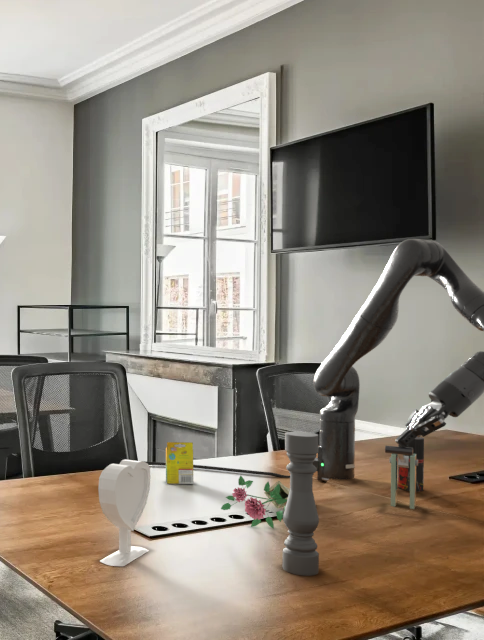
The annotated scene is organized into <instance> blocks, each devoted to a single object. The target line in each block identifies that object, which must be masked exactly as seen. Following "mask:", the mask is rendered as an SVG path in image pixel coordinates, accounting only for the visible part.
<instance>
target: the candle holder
mask: <svg viewBox="0 0 484 640" xmlns="http://www.w3.org/2000/svg"><path fill="white" fill-rule="evenodd" d="M318 447H319V434H318V433H314V432H308V431H286V432H285V433H284V451H286V456H287V457H288V460H289V463H288V464H287V465H286V466H285V468H286V471H288V473H289V476H290V478H289V488H290V491H289V495H288V499H287V503H286V507H285V511H284V510H283V517H282V520H283V523H284V526H285V527H286V528H287V529H288V530H287V533H288V534H289V535H288V536H287V537H286V538H285V540H284V542H283V543H284V546H285V547H283V549H282V569H283V571H285V572H287V573H290V574H293V575H298V576H309V577H310V576H315V575H319V569H320V568H319V566H320V564H319V563H320V556H319V555H320V553H319V552H318V551H317V549H318V543H317V542H316V541H315V539H314V537H313V536H314V535H315V533H314V532H315V531H316V530H317V528H318V526H319V523H320V518H319V512H318V509H317V505H316V504H317V503H316V500H315V496H314V492H313V491H314V490H313V487H314V485H313V483H314V482H313V481H314V480H313V479H314V478H313V477H314V474H315V473H316V472H317V468H316V467H315V466H314V465H313V462H314V459H315V458H317V457H318Z"/></svg>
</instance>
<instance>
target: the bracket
mask: <svg viewBox="0 0 484 640" xmlns="http://www.w3.org/2000/svg"><path fill="white" fill-rule="evenodd" d="M390 455H391V456H389V459H388V460H389V461H388V462H389V464H390V507H396V506H397V504H398V455H397V454H392V453H390ZM416 466H418V460H416V454H413V455H411V456H410V491H409V509H411V510H415V508H416V506H417V492H416Z"/></svg>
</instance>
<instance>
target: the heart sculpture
mask: <svg viewBox="0 0 484 640" xmlns="http://www.w3.org/2000/svg"><path fill="white" fill-rule="evenodd" d="M141 461H142V460H134V459H133V460H132V459H126V458H125V459H122V460H120V462H119V463H110V464H109V465H106V467H105V468H104V469H103V470H102V471H101V473H100V475H99V477H98V488H97V490H98V501H99V502H98V503H99V505H100V509H101V511H102V514H103V515H104V517H105V519H107V521H109V522H110V523H111V524H112V525H113V526H114V527H115V528H117V529H118V531H119V532H118V550H117V551H114V552H112V553H111V554H109V555H107V556H106V557H104V558H102V559H100V560H99V562H100V563H102V564H104V565H107V566H112V567H113V566H114V567H125V566H127V565H128V564H130V563H131V562H133V561H136V559H138V558H140V557H142V556H143V555H144V554H147V553H148V552H149V551H150V550H149V549H147V548H145V547H142V546H136V545H135V546H134V545H132V532H134V531H135V528H136V527H137V525H138V523H139V520H140V519H141V517H142V514H143V513H144V510H145V508H146V505H147V501H148V498H149V495H150V494H149V493H150V489H151V478H152V477H151V467H150V466H151V465H148V463H146V462H147V461H145V462H141Z"/></svg>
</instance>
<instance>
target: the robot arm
mask: <svg viewBox="0 0 484 640" xmlns="http://www.w3.org/2000/svg"><path fill="white" fill-rule="evenodd" d="M413 277H427V278H429V279H431V280H433V281H435V282H436V283H437V284H439V285H440V286H441V287H442V288H443V289H444V290H445V291H446V293H447V295H448V297H449V301H450V303H451V304H452V306H453V308H454V309H455V311H457V312H458V313H459V314H460V316H462V317H463V318H464V319H465V320H466V321H467V322H468V323H469V324H471V325H472V326H473V327H474V328H475V329H477V331H480V332H484V290H483V289H481V288H480V287H479V286H478V284H476V283H475V282H474V281H473V280H472V279H471V278H470V277H469V276H468V275H467V273H465V271H464V270H463V269H462V268H461V266H460V265H458V263H457V261H456V260H455V259H454V258H453V257H452V256H451V254H450V253H449V252H448V250H447V249H446V248H445V247H444V246H443V245H442V244H441V243H439V242H438V241H435V240H431V239H423V238H408V239H405V240H403V241H402V242H400V243H398V245H397V246H396V248H395V249H394V250H393V252H392V254H391V255H390V258H389V260H388V262H387V264H386V265H385V267H384V270H383V271H382V273H381V275H380V277H379V279H378V281H377V283H376V284H375V286H374V287H373V289H372V291H371V292H370V294H369V295H368V297H367V299H366V300H365V302H364V303H363V305H362V306H361V308H360V309H359V310H358V312H356V313H357V314H356V315H355V317H354V318H353V319H352V321H351V323H350V324H349V326H348V328H347V329H346V331H345V332H344V334H343V335H342V336H341V338H340V340H339V341H338V343H336V345H335V347H333V350H332V351H331V352H330V353H329V355H328V356H327V357H326V358H325V359H324V360H323V361H322V362H321V364H320V365H319V366H318V368H317V369H316V371H315V372H314V375H313V380H312V381H313V382H312V383H313V384H312V385H313V388H314V391H315V392H316V393H317V394H318V395H319V396H321V397H327V398H330V401H329V403H328V404H327V405H326V406H324V407H323V408H321V409H320V410H319V434H318V453H317V457H316V458H315V459H314V462H313V465H314V466H315V467H316V468H317V471H316V472H317V473H316V475H317V481H322V482H326V483H327V482H328V481H329V480H330V479H331V480H354V479H356V478H355V476H356V475H355V469H356V466H355V464H356V463H355V460H356V458H355V457H356V455H355V454H356V451H355V449H356V415H357V413H358V411H359V403H360V387H361V386H360V385H361V384H360V376H359V373H358V370H357V369H356V368H355V367H354V365H355V364H356V363H357V362H358V361H359V360H361V359H362V358H363V357H364V356H366V355H368V353H370V352H371V351H373V350H375V349H376V348H377V347H378V346H379V345H381V344H382V343H383V342H384V340H385V339H387V337H388V336H389V334H390V332H391V331H392V329H393V328H394V327H395V325H396V323H397V321H398V317H399V310H400V308H399V307H400V298H401V295H402V292H403V291H404V289H406V287H407V285H408V283H409V282H410V281H411V280H412V278H413ZM483 395H484V351H477V352H475V353H473V354H472V355H470V357H469V358H467V359H466V360H465V361H464V362H463V363H462V364H461V365H460V366H459V367H457V368H456V369H454V370H452V371H451V372H450V373H449V374H448V375H447V376H446V377H445V378H443V380H441V381H440V382H439V383H438V384H437V385H436V386H434V387H433V389H431V391H429V393H428V398H429V399H430V402H429V403H427V404H425V405H423V406H422V407H420V409H419V410H418V409H413V410H412V412H411V414H410V415H409V416H408V419H407V421H406V423H405V424H404V426H405V430H404V431H403V432H402V433H400V434H399V435H398V436H397V438H395V440H394V441H395V443H396V444H397V446H398V445H399V446H401V447H403V448H405V447H406V446H407V445H408V444H410V443H411V442H412V441H413V440H414V439H415V438H416V437H422V438H424V437H426V436H428V435H430V434H432V433H434V432H435V431H439V430H440V429H441V428H444V427H446V425H447V423H446V422H445V419H447V418H448V416H449V417H453V418H458V417H459V416H460V415H462V414H463V413H464V412H465V411H466V410H467V409H468V408H470V406H472V405H473V404H474V403H475V402H476V401H477V400H478V399H479V398H480V397H481V396H483ZM140 461H141V462H146V463H148V465H149V466H164V467H166V462H161V461H159V462H158V461H144V460H140ZM193 469H202V470H211V471H213V470H214V471H220V472H221V471H222V472H231V473H240V474H241V473H242V474H249V475H250V474H251V475H261V476H271V477H276V478H285V479H290V475H286V474H280V473H276V472H270V471H261V470H251V469H250V470H249V469H240V468H233V467H232V468H230V467H222V466H211V465H202V464H201V465H200V464H193Z"/></svg>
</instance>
